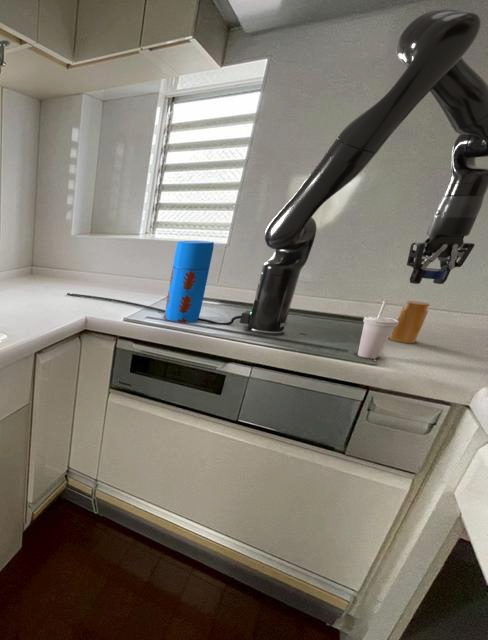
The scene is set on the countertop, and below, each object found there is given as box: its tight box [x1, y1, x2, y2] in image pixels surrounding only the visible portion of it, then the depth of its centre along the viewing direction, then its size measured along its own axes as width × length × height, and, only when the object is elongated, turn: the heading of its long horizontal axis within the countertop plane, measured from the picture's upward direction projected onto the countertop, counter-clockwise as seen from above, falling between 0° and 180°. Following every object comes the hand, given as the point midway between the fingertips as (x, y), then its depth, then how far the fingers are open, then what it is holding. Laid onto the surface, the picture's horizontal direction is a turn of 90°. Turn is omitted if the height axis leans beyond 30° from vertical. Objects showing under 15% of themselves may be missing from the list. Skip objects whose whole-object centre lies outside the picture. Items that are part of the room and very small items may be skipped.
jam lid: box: [422, 267, 447, 280], centre depth 106 cm, size 6×6×2 cm
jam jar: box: [389, 300, 431, 344], centre depth 112 cm, size 5×5×11 cm
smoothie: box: [357, 300, 399, 359], centre depth 99 cm, size 6×6×14 cm
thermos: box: [164, 240, 215, 324], centre depth 133 cm, size 11×11×25 cm
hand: (426, 283), depth 107 cm, fingers closed on jam lid, 5 cm apart
